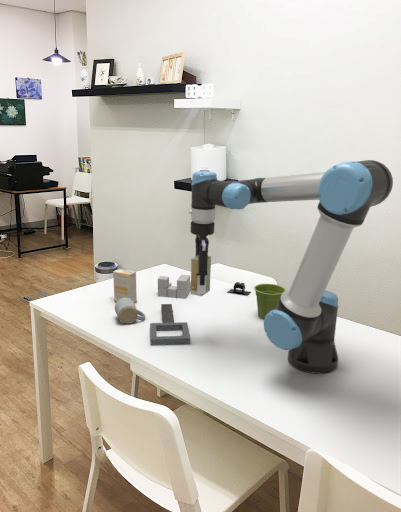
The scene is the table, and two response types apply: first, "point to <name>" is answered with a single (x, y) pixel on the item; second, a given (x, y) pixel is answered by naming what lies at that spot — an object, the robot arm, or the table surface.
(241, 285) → the black bracket
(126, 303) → the ceramic mug
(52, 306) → the table surface
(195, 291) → the skincare box
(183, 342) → the grey frame stand
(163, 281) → the puzzle cube
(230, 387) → the table surface
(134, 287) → the supplement box
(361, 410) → the table surface
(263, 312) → the plant pot
